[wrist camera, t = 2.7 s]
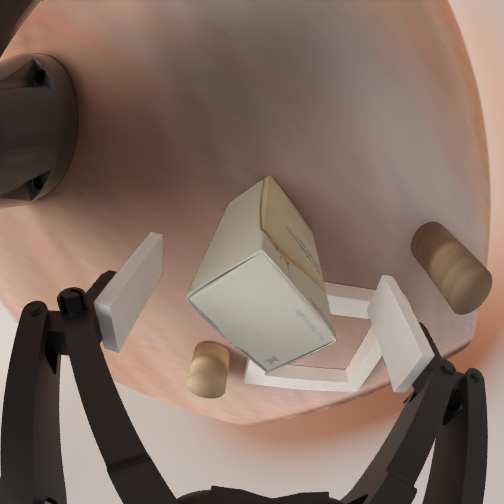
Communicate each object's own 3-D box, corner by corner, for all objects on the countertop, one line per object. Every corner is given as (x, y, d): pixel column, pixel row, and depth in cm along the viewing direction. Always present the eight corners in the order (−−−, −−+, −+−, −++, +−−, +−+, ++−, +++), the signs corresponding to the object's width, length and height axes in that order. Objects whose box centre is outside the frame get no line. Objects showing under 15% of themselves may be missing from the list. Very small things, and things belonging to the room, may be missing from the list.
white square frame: (244, 369, 32) (243, 382, 30) (269, 272, 25) (269, 285, 24) (353, 379, 33) (356, 392, 31) (404, 294, 26) (411, 306, 24)
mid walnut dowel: (404, 256, 24) (442, 312, 17) (420, 217, 22) (468, 265, 15) (436, 263, 24) (475, 315, 17) (451, 227, 22) (499, 273, 15)
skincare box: (313, 232, 23) (344, 342, 13) (269, 260, 25) (267, 377, 14) (268, 170, 21) (265, 246, 10) (222, 203, 23) (181, 301, 12)
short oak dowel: (194, 360, 32) (186, 394, 28) (196, 338, 30) (186, 373, 26) (228, 366, 32) (222, 401, 28) (232, 344, 30) (226, 381, 26)
